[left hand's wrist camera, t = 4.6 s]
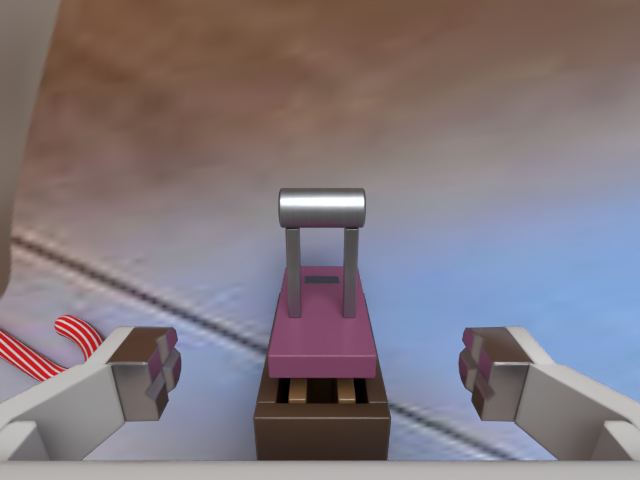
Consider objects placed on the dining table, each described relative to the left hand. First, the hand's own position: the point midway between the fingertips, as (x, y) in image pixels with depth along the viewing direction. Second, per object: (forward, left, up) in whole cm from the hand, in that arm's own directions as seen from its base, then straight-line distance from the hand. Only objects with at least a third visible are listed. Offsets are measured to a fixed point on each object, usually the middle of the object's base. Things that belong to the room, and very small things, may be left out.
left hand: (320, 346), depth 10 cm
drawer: (-6, +5, -12) cm, 15 cm away
